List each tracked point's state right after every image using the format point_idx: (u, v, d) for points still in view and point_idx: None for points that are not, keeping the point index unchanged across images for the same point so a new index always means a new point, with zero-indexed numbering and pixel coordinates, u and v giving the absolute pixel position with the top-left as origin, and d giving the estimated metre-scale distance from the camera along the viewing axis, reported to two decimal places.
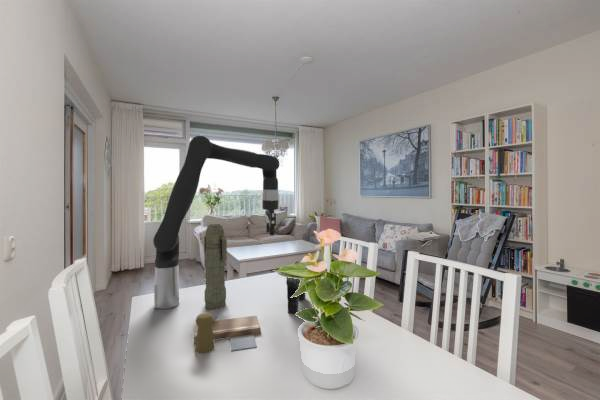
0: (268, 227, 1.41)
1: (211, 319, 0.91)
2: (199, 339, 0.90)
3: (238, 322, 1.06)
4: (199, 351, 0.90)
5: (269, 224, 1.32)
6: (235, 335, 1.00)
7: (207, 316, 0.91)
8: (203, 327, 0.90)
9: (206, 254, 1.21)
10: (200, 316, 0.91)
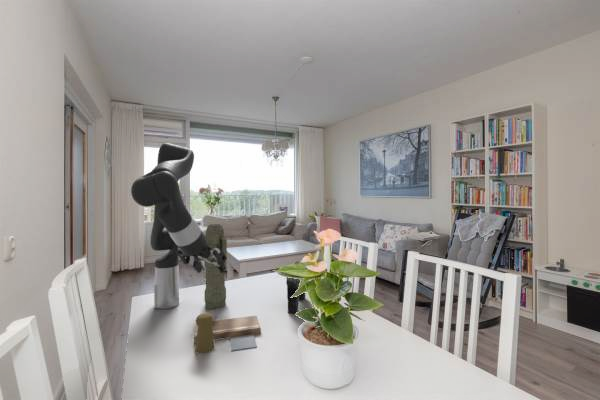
0: None
1: (211, 319, 0.91)
2: (199, 339, 0.90)
3: (238, 322, 1.06)
4: (199, 351, 0.90)
5: None
6: (235, 335, 1.00)
7: (207, 316, 0.91)
8: (203, 327, 0.90)
9: None
10: (200, 316, 0.91)
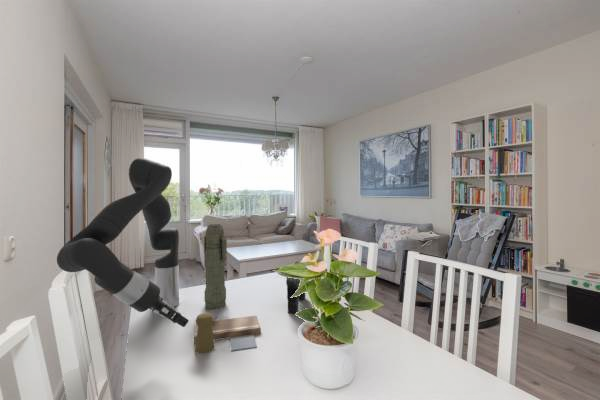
0: None
1: (211, 319, 0.91)
2: (199, 339, 0.90)
3: (238, 322, 1.06)
4: (199, 351, 0.90)
5: (164, 303, 0.87)
6: (235, 335, 1.00)
7: (207, 316, 0.91)
8: (203, 327, 0.90)
9: (206, 254, 1.21)
10: (200, 316, 0.91)
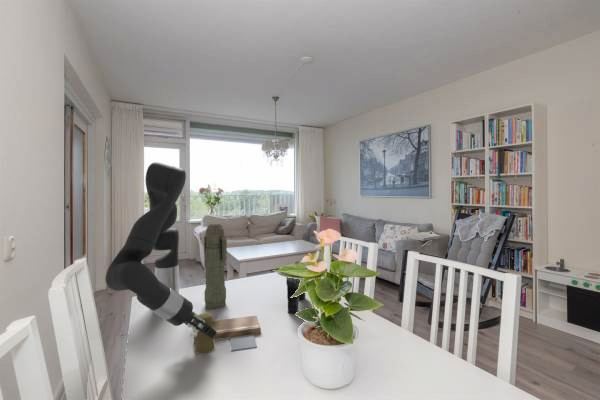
0: None
1: (211, 319, 0.91)
2: (199, 339, 0.90)
3: (238, 322, 1.06)
4: (199, 351, 0.90)
5: None
6: (235, 335, 1.00)
7: (207, 316, 0.91)
8: None
9: (206, 254, 1.21)
10: (200, 316, 0.91)
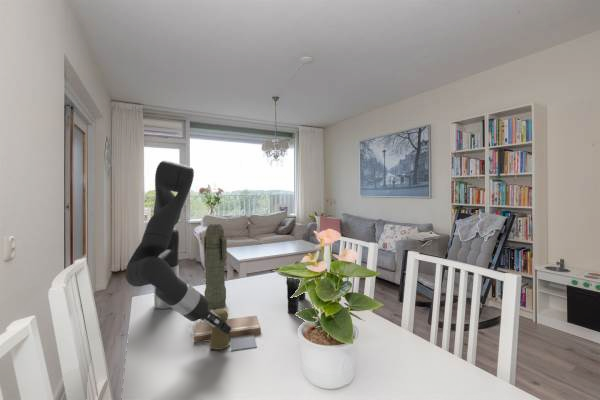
0: None
1: (226, 315, 0.92)
2: (214, 335, 0.91)
3: (238, 322, 1.06)
4: (214, 347, 0.91)
5: None
6: (235, 335, 1.00)
7: (222, 312, 0.92)
8: None
9: (206, 254, 1.21)
10: (215, 312, 0.92)
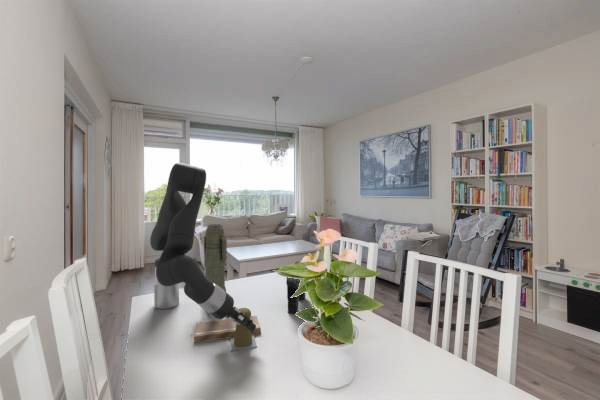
0: None
1: (250, 314, 0.94)
2: (239, 334, 0.93)
3: None
4: (239, 345, 0.93)
5: None
6: None
7: (246, 311, 0.94)
8: None
9: (206, 254, 1.21)
10: None
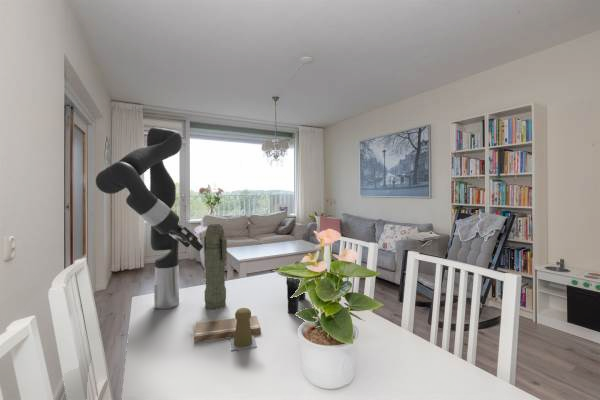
0: None
1: (250, 314, 0.94)
2: (239, 334, 0.93)
3: None
4: (239, 345, 0.93)
5: None
6: None
7: (246, 311, 0.94)
8: (242, 322, 0.93)
9: (206, 254, 1.21)
10: (239, 311, 0.94)
